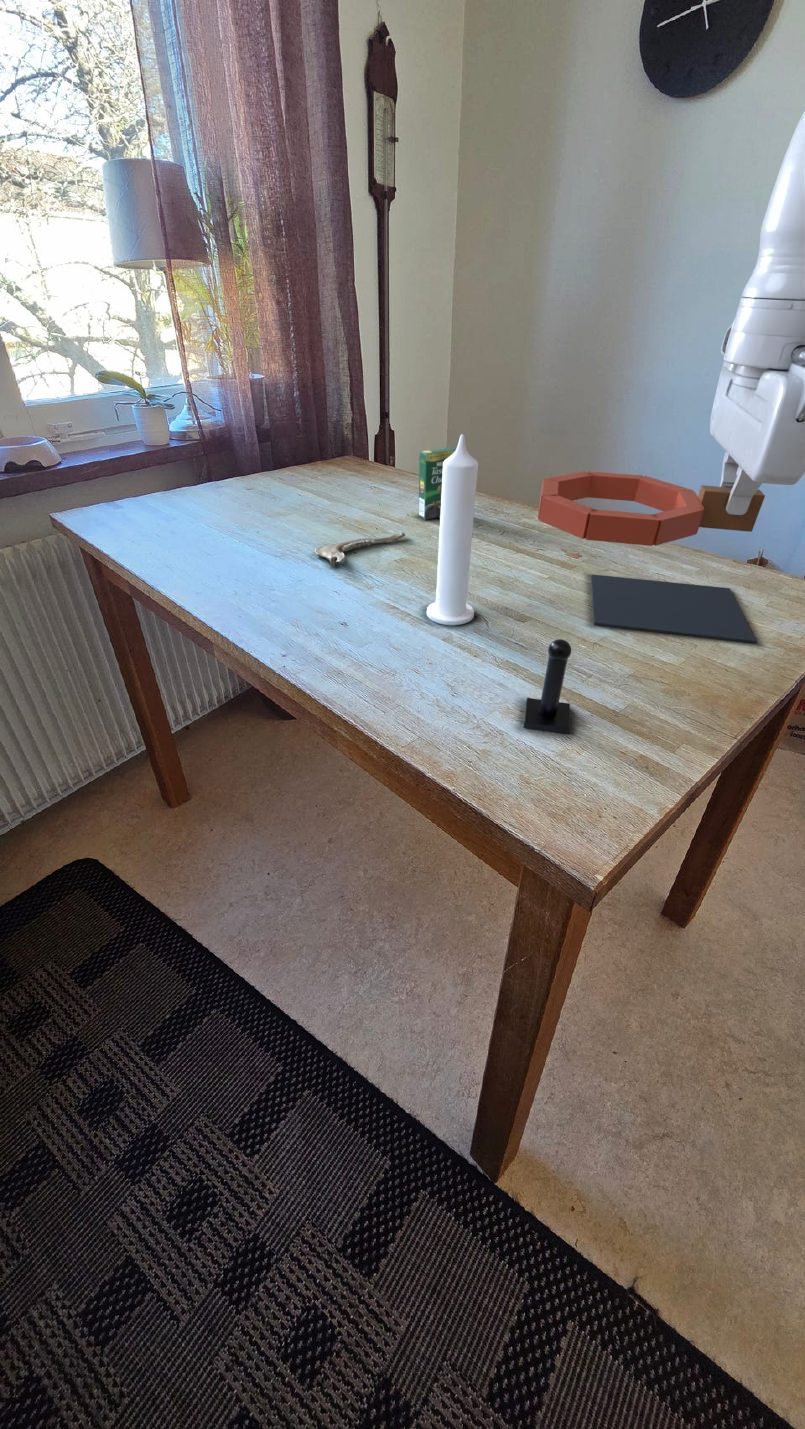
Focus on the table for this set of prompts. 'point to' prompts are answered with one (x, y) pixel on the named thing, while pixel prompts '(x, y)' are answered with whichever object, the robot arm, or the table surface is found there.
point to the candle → (455, 538)
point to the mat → (668, 608)
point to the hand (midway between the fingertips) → (729, 507)
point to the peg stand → (551, 694)
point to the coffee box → (431, 481)
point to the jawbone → (350, 547)
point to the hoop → (638, 528)
